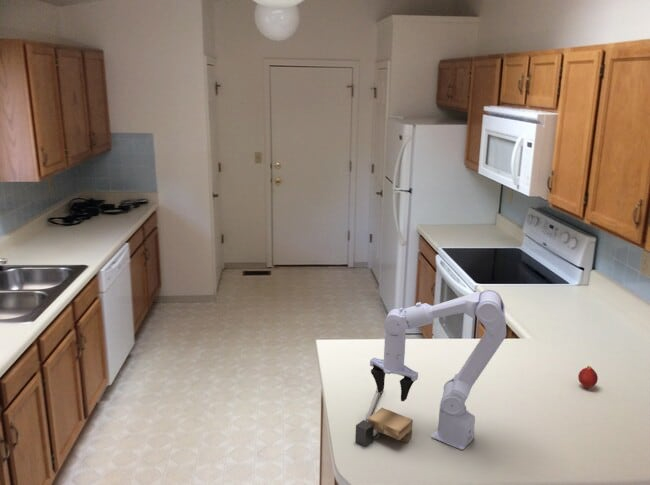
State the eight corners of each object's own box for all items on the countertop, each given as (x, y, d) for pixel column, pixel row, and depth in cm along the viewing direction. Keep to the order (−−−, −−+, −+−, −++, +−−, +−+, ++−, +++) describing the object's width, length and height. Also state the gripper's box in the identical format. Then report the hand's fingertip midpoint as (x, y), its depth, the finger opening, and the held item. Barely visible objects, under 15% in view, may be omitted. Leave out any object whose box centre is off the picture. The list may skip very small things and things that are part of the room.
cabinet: (411, 439, 161) (412, 419, 160) (398, 451, 156) (399, 431, 154) (380, 426, 167) (381, 407, 166) (367, 437, 162) (368, 418, 160)
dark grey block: (365, 447, 157) (366, 430, 156) (355, 442, 159) (355, 425, 158) (382, 435, 163) (383, 417, 162) (372, 430, 165) (373, 413, 164)
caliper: (380, 391, 187) (380, 373, 185) (383, 392, 187) (384, 374, 185) (364, 425, 168) (365, 406, 167) (368, 425, 168) (368, 406, 166)
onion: (581, 381, 195) (584, 360, 193) (598, 388, 191) (602, 366, 189) (574, 387, 191) (577, 365, 189) (591, 394, 187) (595, 371, 185)
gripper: (364, 349, 162) (363, 392, 166) (410, 364, 154) (407, 409, 158) (378, 341, 168) (376, 383, 171) (422, 355, 159) (419, 399, 163)
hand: (392, 395), depth 165 cm, fingers open, 7 cm apart
